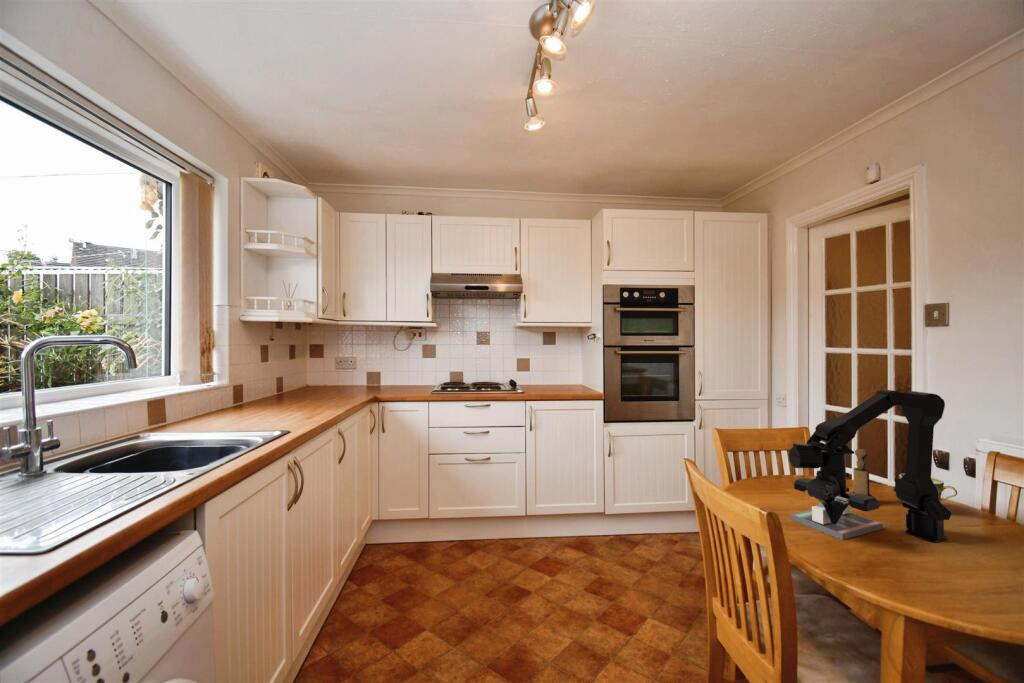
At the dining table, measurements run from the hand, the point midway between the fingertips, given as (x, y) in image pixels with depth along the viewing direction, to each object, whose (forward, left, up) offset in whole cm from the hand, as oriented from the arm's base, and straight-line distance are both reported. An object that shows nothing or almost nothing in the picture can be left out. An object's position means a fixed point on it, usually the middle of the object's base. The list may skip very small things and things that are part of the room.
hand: (834, 523), depth 113 cm
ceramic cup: (-1, -43, -3) cm, 43 cm away
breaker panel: (+4, -6, -2) cm, 8 cm away
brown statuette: (+11, -32, -3) cm, 34 cm away
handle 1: (+6, -6, -1) cm, 9 cm away
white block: (+6, -13, -1) cm, 14 cm away
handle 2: (+4, 0, -1) cm, 4 cm away
